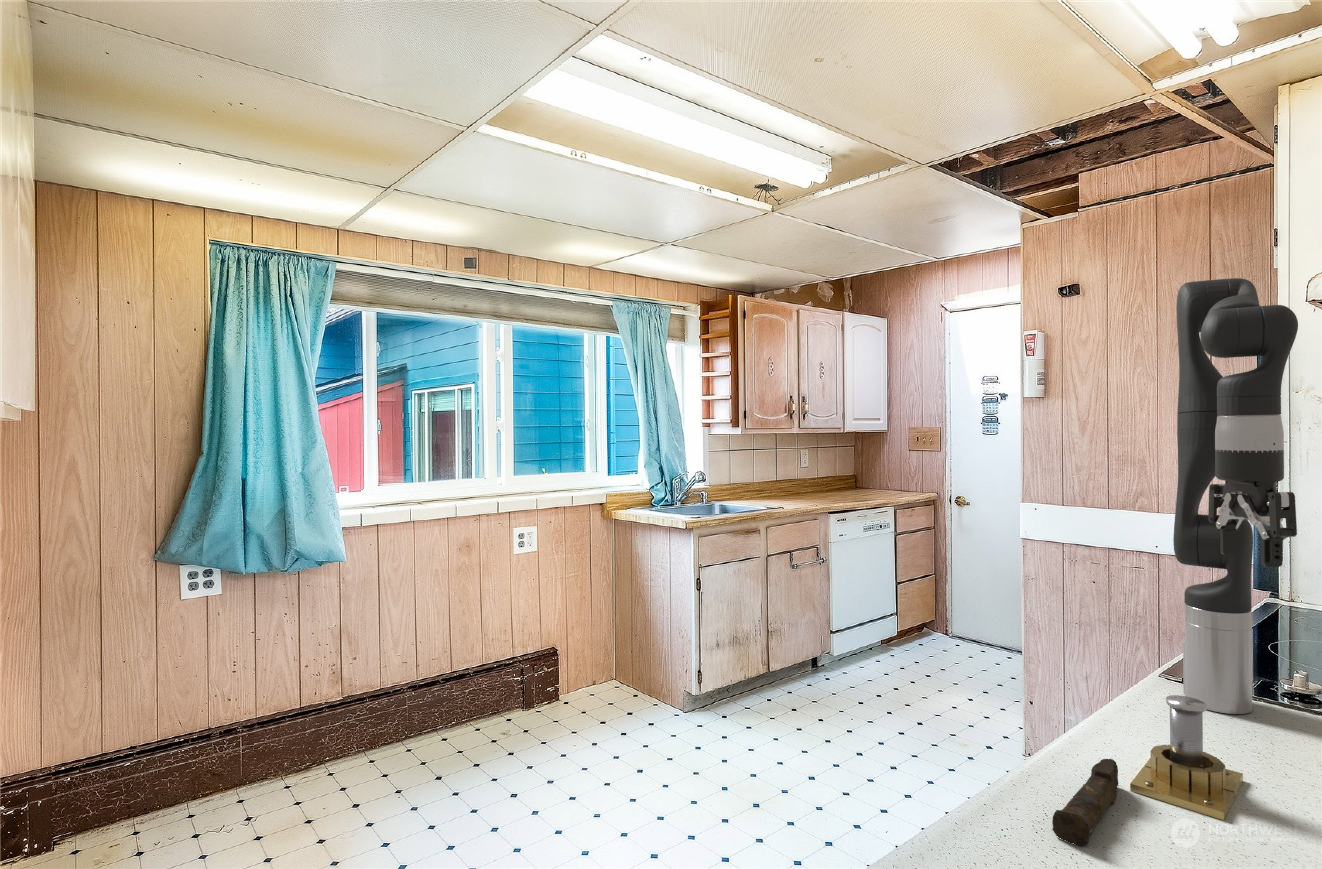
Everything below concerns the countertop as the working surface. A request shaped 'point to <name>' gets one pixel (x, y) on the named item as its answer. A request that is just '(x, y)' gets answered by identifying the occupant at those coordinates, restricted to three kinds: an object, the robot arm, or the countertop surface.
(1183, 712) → the hinge pin
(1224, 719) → the countertop surface
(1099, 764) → the hand tool
